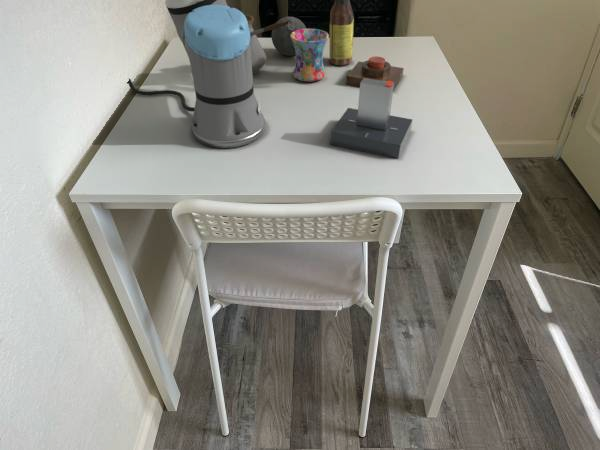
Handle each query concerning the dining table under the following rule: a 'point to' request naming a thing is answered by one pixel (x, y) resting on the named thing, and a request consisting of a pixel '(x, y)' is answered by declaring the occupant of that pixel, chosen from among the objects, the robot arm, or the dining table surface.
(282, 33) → the decorative ball
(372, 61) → the button
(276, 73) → the dining table surface
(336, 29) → the sauce bottle
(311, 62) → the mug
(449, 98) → the dining table surface
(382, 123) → the tap handle
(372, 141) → the panel
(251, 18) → the coffee pot
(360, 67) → the button block
